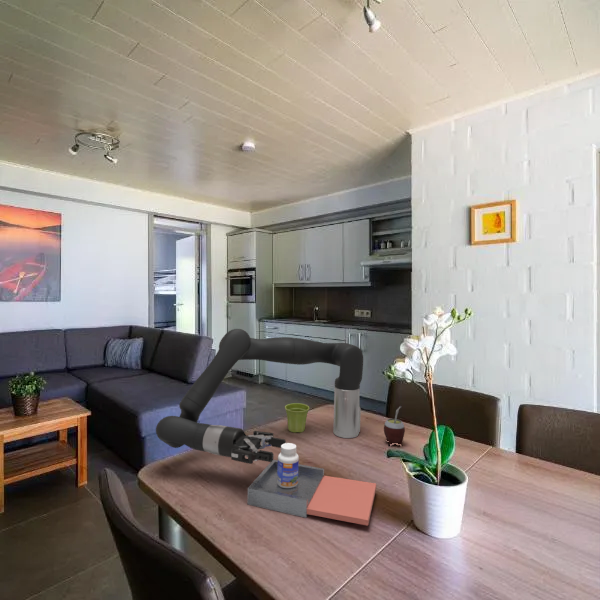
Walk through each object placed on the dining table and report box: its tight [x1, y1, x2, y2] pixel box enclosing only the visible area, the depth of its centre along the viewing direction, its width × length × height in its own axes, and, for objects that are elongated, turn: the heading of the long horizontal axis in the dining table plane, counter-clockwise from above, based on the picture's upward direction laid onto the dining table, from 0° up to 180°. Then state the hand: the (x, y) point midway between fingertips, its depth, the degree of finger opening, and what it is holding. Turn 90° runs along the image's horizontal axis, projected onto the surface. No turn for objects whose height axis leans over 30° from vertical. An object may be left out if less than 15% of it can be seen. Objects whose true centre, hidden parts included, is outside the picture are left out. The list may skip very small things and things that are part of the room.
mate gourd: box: [383, 405, 406, 445], centre depth 124 cm, size 8×8×15 cm
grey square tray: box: [247, 459, 325, 519], centre depth 92 cm, size 15×16×4 cm
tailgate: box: [307, 475, 377, 526], centre depth 88 cm, size 2×16×14 cm
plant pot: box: [284, 402, 311, 434], centre depth 135 cm, size 9×9×9 cm
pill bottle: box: [277, 442, 300, 488], centre depth 92 cm, size 5×5×10 cm
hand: (279, 450), depth 93 cm, fingers open, 8 cm apart
